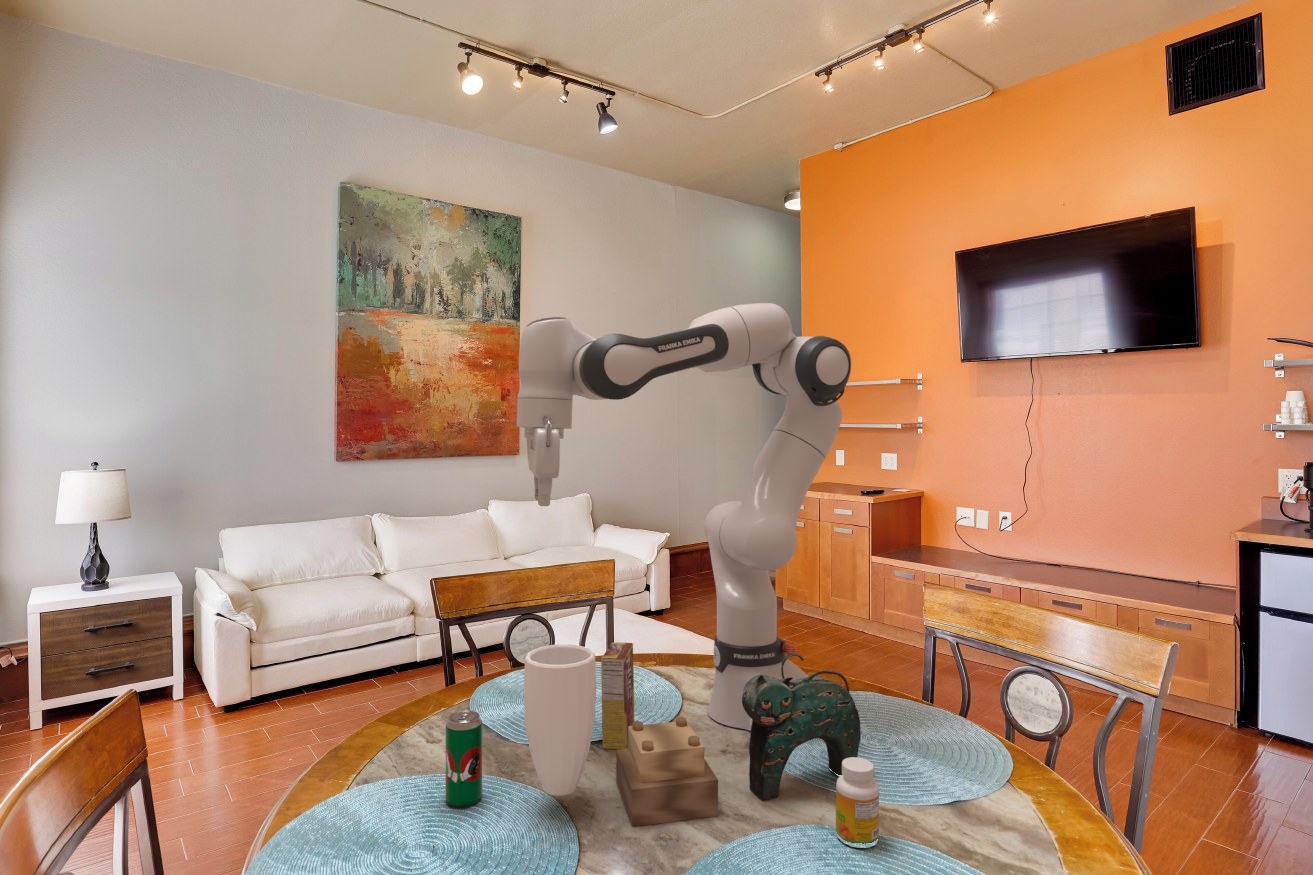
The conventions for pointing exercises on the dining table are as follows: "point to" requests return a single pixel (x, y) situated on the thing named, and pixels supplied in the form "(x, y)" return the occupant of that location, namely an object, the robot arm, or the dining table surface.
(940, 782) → the dining table surface
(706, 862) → the dining table surface
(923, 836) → the dining table surface
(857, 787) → the supplement bottle
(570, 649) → the cup
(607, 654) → the candy box
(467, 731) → the soda can
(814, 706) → the ceramic cat
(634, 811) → the tower base
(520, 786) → the dining table surface
